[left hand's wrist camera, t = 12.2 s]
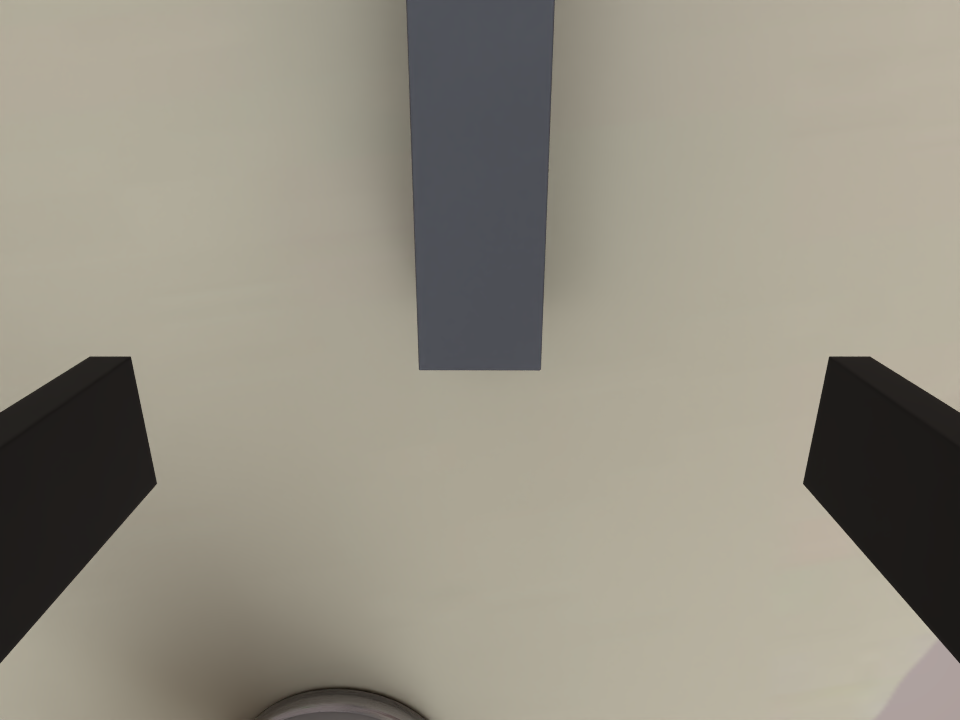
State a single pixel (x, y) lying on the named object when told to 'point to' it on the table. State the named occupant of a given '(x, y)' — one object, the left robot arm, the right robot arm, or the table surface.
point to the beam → (480, 178)
